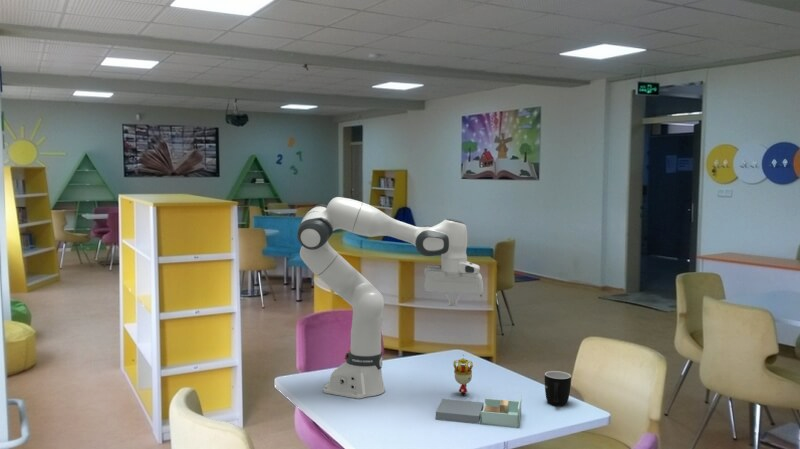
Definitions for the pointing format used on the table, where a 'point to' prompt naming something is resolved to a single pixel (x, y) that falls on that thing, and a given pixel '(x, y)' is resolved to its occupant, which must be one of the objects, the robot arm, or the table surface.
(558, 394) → the mug
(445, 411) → the board
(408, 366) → the table surface
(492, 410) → the tile
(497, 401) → the bin
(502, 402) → the tile
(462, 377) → the toy
